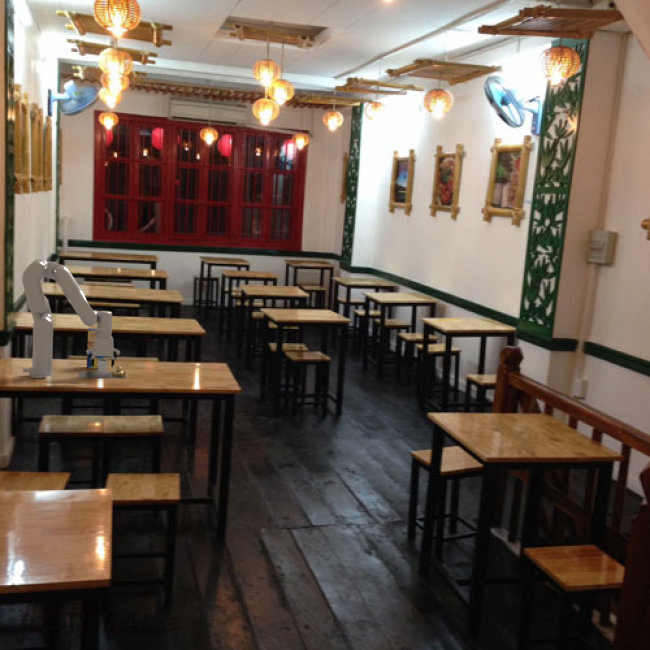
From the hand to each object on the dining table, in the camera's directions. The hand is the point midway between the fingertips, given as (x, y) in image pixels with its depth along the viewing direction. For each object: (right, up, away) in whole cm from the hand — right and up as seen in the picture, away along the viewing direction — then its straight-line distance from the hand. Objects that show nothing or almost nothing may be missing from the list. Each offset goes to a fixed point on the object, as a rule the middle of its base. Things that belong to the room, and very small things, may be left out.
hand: (102, 366), depth 407 cm
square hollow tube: (0, -4, +1) cm, 5 cm away
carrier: (0, -6, +1) cm, 6 cm away
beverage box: (-9, -3, +20) cm, 22 cm away
